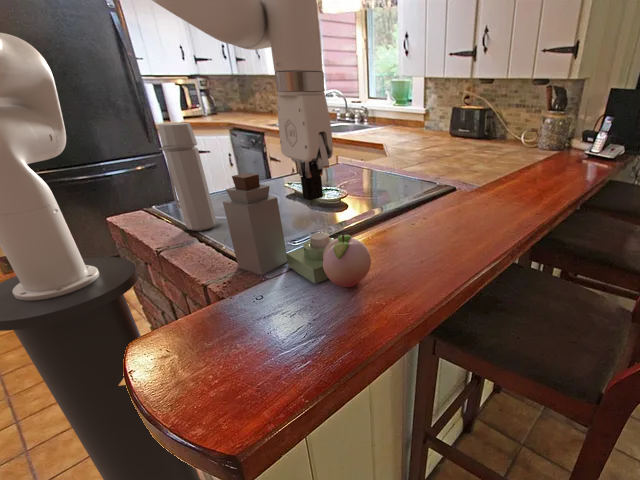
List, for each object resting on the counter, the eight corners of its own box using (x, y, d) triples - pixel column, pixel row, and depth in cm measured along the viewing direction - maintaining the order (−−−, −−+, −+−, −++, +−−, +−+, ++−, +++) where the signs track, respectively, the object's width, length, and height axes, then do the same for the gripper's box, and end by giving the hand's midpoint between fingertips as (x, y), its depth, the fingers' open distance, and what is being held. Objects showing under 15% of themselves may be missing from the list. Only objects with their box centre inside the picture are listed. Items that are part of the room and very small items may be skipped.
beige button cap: (307, 245, 70) (306, 235, 69) (323, 240, 72) (322, 231, 71) (317, 251, 68) (316, 241, 67) (333, 245, 70) (332, 235, 69)
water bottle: (224, 222, 96) (199, 122, 85) (205, 233, 90) (175, 125, 78) (193, 221, 98) (165, 122, 87) (172, 231, 91) (139, 125, 80)
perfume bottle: (265, 255, 77) (248, 170, 69) (287, 261, 74) (272, 173, 66) (238, 267, 72) (216, 177, 64) (261, 275, 69) (242, 181, 61)
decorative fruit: (375, 297, 61) (372, 242, 57) (326, 302, 60) (319, 247, 56) (369, 272, 70) (366, 223, 65) (326, 276, 68) (320, 226, 64)
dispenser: (288, 266, 72) (284, 243, 70) (330, 252, 78) (327, 230, 76) (315, 284, 66) (311, 259, 63) (358, 266, 72) (357, 243, 69)
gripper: (257, 85, 60) (274, 194, 68) (304, 85, 50) (317, 211, 58) (298, 85, 65) (309, 187, 73) (348, 85, 55) (354, 202, 63)
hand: (313, 197), depth 66 cm, fingers closed
